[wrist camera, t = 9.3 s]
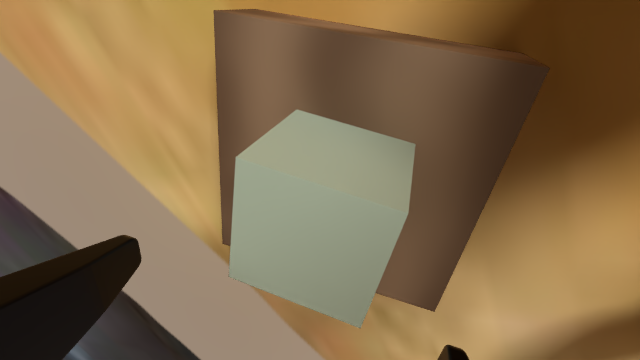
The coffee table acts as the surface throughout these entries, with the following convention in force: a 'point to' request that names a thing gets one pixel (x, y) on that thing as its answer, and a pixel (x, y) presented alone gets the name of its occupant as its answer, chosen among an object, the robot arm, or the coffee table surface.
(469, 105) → the walnut block
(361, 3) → the coffee table surface
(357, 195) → the sage cube
